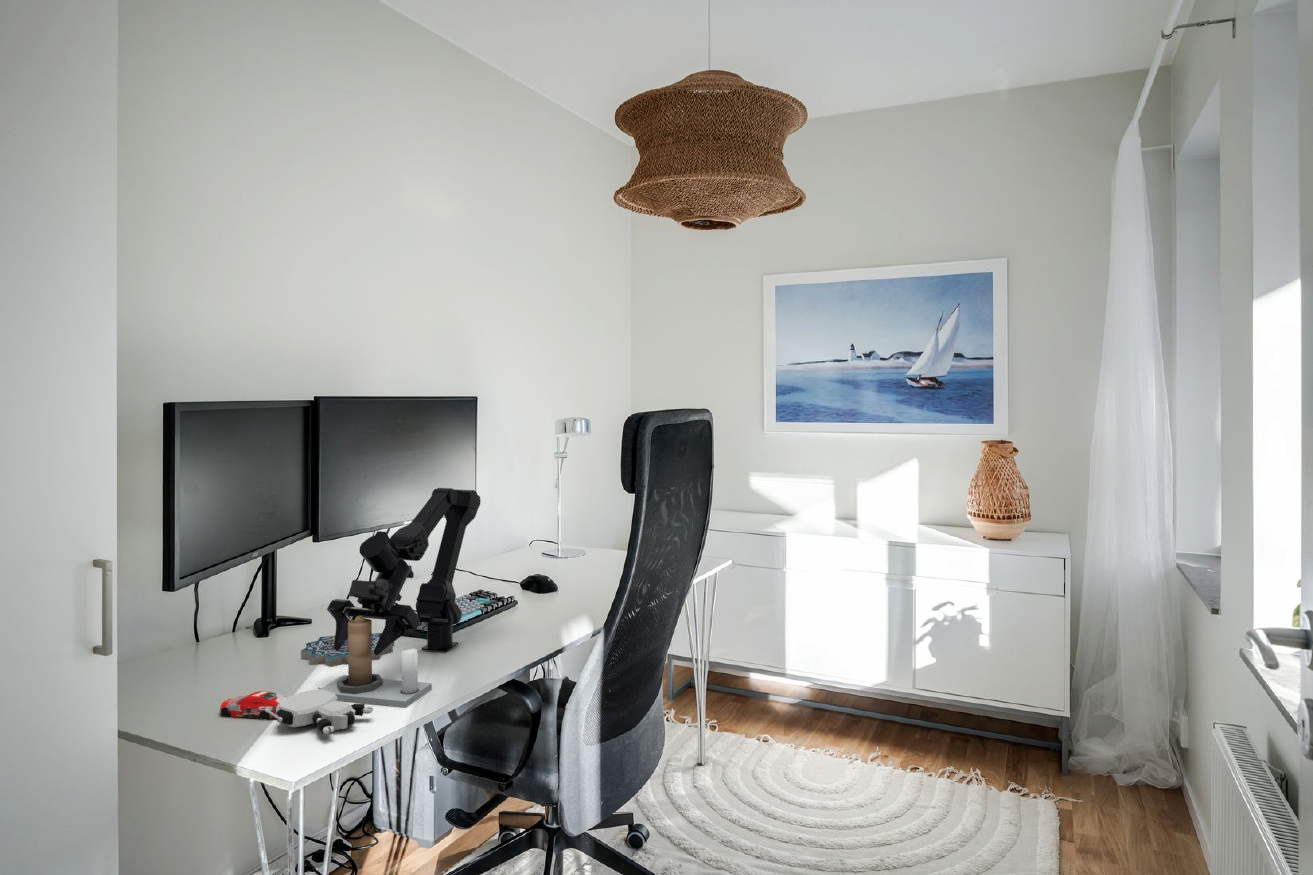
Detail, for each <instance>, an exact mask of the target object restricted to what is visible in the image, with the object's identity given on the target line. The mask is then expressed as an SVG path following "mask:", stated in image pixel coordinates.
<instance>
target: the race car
mask: <svg viewBox="0 0 1313 875" xmlns="http://www.w3.org/2000/svg"><path fill="white" fill-rule="evenodd" d="M288 697H289V696H285V695H283V694H280V693H277V692H273V691H265V690H258V691H254V692H252V693H250V694H248V695H240V696H234V697H232V698H228V699H226V700H224V701H223V702H221V705H220V707H219V714H220V715H222V717H224V718H225V717H226V718H230V717H237V718H247V719H248V718H252V719H261V720H264V721H265V720H267V721H268V720H271V719H276V717H274V716H273V715H271V714H270V713H268V712H266V711H265V709H268V710H269V711H271V712H272V713H274V714H275V715H276V707H277V705H278V704H280V703H281V702H282V701H283V700H285V699H286V698H288Z"/></svg>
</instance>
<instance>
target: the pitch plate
mask: <svg viewBox="0 0 1313 875" xmlns="http://www.w3.org/2000/svg"><path fill="white" fill-rule="evenodd" d="M400 652H401V653H400V654H401V679H391V678H390V679H388V678H382V676H381V675H380V674H378V673H372V683H371V684H368V685H362V686H357V687H356V686H349V681H348V674H344V675H342V676H340V677H338V678H336V679H335V680H333V681H331V682H329V683H327V684H325V685H324V686H322V687H321V688H322V689H323V690H325V691H328V692H332V693H335V695H336V696H337V697H338V700H337V702H345V703H346V702H347V703H355V704H366V705H367V704H368V705H379V706H386V707H395V708H396V707H397V708H407V707H408V706H411V704H413V703H414V702H416V701H417V700H419V698H421V697H422V696H424V695H426V694H427V693H428V692H430V691H431V690H432V689H433V688H432V686H433V685H432V684H433V683H431V682H421V681H419V678H418V662H419V661H418V649H417V648H406V649H403V650H401V651H400Z"/></svg>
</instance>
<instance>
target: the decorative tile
mask: <svg viewBox="0 0 1313 875" xmlns="http://www.w3.org/2000/svg"><path fill="white" fill-rule="evenodd" d="M381 634H382V632H378V633H377V632H376V633H374V632H373V633H372V661H379V660H380V659H381V658H382V656H384V655H385V656H386V655H388V653H389V654H392V653H391V652H393V653H394V646H395V641H394V642H393V643H392V644H390V645H389V646H388V647H387V648H386V649H384V650H383V651H382V652H381V653H380V654H379V655H375V654H374V650H375V647H376V645H377V642H378V640H379V638H380V636H381ZM334 642H335V635H331V636H329V635H328V636H327V635H326V636H320V637H319V638H318V639H317V640H314V641H311V642H307V643H305V648H303V649H301V650H300V660H304V661H308V663H309V666H310V665H311V666H312V665H315V666H316V665H325V666H327V667H329V668H332V667H337V666H342V665H348V638H347V640H346V641H345V643H344V644H343V645H342V647H341V648H340V649H339V650H338V651H335V650H334Z"/></svg>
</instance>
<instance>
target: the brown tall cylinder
mask: <svg viewBox="0 0 1313 875" xmlns="http://www.w3.org/2000/svg"><path fill="white" fill-rule="evenodd" d="M372 623H373V622H372V619H371V618H364V617H363V616H357V617H356V618H355V620H351V621H349V622H348V664H347V665H348V666H347V667H348V670H347V671H348V673H347V675H348V681H349V686H356V687H357V686H362V685H368V684H371V683H372V674H373V666H372V665H373V660H372V634H373V633H372V629H373V627H372Z"/></svg>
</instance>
